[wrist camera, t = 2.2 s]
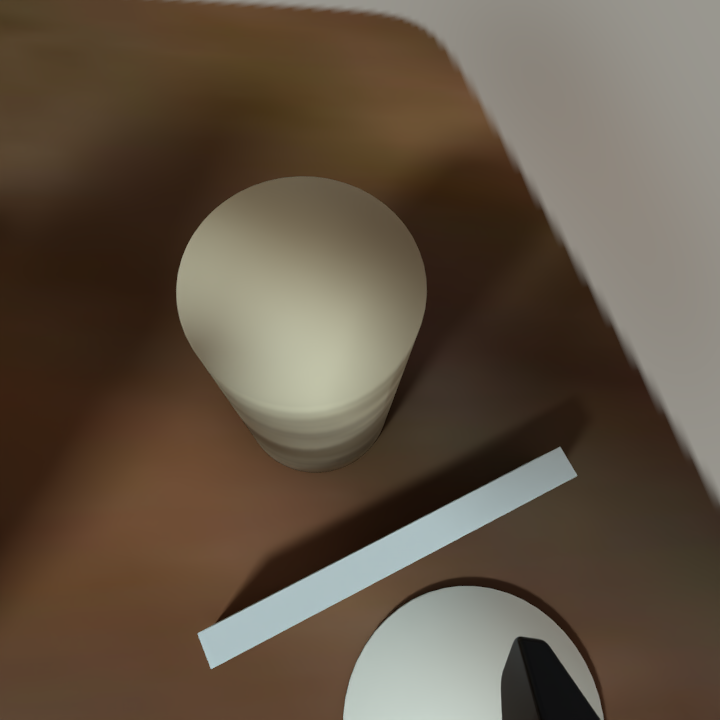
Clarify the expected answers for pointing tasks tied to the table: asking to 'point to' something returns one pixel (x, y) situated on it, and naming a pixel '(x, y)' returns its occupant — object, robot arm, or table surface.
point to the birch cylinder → (304, 314)
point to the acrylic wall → (383, 557)
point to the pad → (452, 657)
